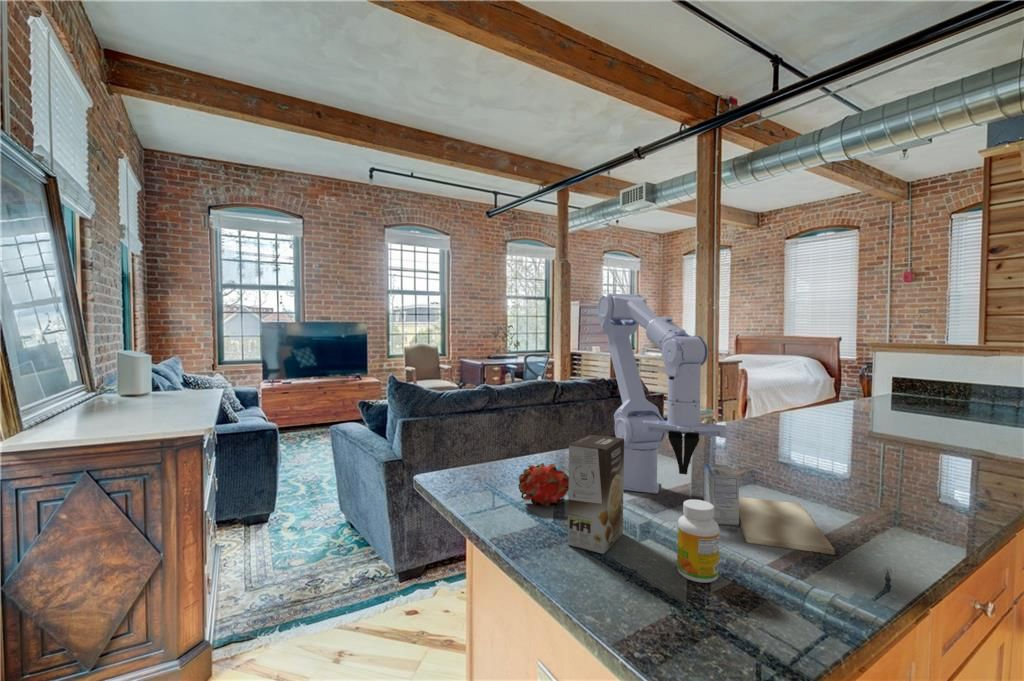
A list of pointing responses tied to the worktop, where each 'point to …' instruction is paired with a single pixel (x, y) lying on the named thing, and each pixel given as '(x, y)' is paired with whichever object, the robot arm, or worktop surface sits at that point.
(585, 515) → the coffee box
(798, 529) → the board
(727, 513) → the medicine box
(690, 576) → the supplement bottle
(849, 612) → the worktop surface
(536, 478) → the dragon fruit
